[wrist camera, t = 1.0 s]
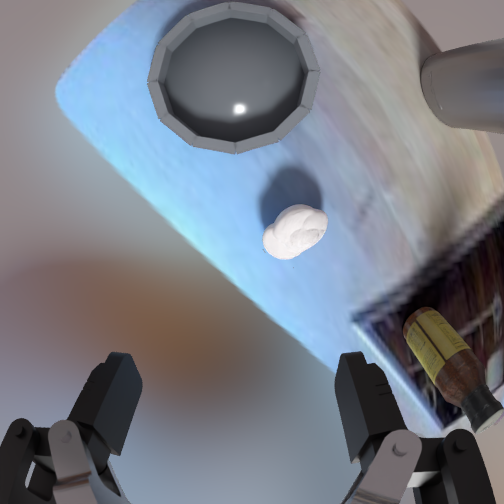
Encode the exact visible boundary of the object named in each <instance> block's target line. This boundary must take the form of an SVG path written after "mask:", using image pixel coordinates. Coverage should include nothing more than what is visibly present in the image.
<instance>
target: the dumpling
mask: <svg viewBox="0 0 504 504" xmlns="http://www.w3.org/2000/svg"><path fill="white" fill-rule="evenodd" d="M327 224H328V217H327V214H326V213H325V212H324V211H322V210H319V209H314V208H312V207H310V206H308V205H304V204H296V205H292V206H290V207H288V208H286V209H284V210H283V211H282V212H281V213H280V214H279V215H278V216H277V218H276V220H275V222H274V223H273V224H270V225H269V226H268V227H267V228H266V229H265V231H264V233H263V238H262V240H263V244H264V247H265V249H266V250H267V252H268V253H269V254H271V255H272V256H273V257H276V258H279V259H292V258H294V257H296V256H298V255H300V254H301V253H302V252H303V251H305V250H307V249H309V248H310V247H311V246H313V245H315V244H316V243H317V242H318V241H319V240H320V239H321V237H322V236H323V234H325V231H326V229H327ZM263 251H264V250H263ZM264 252H265V251H264ZM293 268H294V267H293Z"/></svg>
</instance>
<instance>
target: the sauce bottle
mask: <svg viewBox="0 0 504 504" xmlns="http://www.w3.org/2000/svg"><path fill="white" fill-rule="evenodd" d="M403 334H404V337H405V339H406V340H407V343H408V345H409V346H410V348H411V349H412V351H413V352H414V354H415V355H416V357H417V358H418V360H419V361H420V363H421V364H422V366H423V367H424V369H425V370H426V372H427V373H428V375H429V377H430V378H431V380H432V381H433V383H434V384H435V386H436V387H437V388H438V389H439V390H440V392H441V394H442V396H443V397H444V398H445V400H446V401H447V402H450V403H452V404H454V405H456V406H458V407H460V408H462V410H463V411H464V412H465V414H466V415H467V417H468V419H469V421H470V423H471V428H472V430H473V431H474V433H475V434H479V433H481V432H482V431H484V430H486V429H487V428H488V427H490V426H491V425H492V424H493V423H494V422H495V421H496V420H497V419H498V418H499V417H500V416H501V414H502V413H503V411H504V408H503V406H502V405H501V403H500V402H499V401H497V400H496V399H495V398H494V396H493V395H492V393H491V392H490V390H489V388H488V386H487V385H486V382H485V368H484V366H483V364H482V363H481V362H480V361H479V359H478V358H477V357H476V356H475V355H474V353H473V351H472V350H471V349H470V347H469V346H468V345H467V344H466V343H465V342H464V340H463V339H462V338H461V337H460V336H459V335H458V334H457V332H456V331H455V330H454V329H453V328H452V327H451V326H450V325H449V323H448V322H447V321H446V320H445V319H444V318H443V317H442V316H441V315H440V313H439V312H437V311H436V310H434V309H433V308H430V307H421V308H420V309H418V310H416V311H415V312H414V313H412V314H411V315H410V316H409V317H408V319H407V320H406V322H405V324H404V326H403Z"/></svg>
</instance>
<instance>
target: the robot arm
mask: <svg viewBox="0 0 504 504" xmlns="http://www.w3.org/2000/svg"><path fill="white" fill-rule="evenodd" d="M421 84H422V89H423V93H424V96H425V99H426V101H427V103H428V105H429V107H430V109H431V110H432V112H433V113H434V114H435V116H436V117H437V118H438V119H439V120H440V121H442V122H443V123H444V124H446V125H448V126H450V127H454V128H462V129H471V130H478V131H486V132H493V133H500V134H504V38H502V39H497V40H491V41H486V42H482V43H477V44H473V45H469V46H465V47H460V48H456V49H453V50H449V51H445V52H442V53H438V54H435V55H432V56H431V57H429V58H428V59H427V60H426V61H425V63H424V65H423V68H422V73H421ZM141 392H142V379H141V377H140V374H139V372H138V370H137V367H136V365H135V363H134V361H133V358H132V356H131V355H130V354H128V353H119V352H111V353H110V354H109V356H108V358H107V360H106V361H105V363H100V364H99V365H98V366H97V367H96V368H95V369H94V370H93V371H92V372H91V374H90V376H89V378H88V380H87V382H86V383H85V385H84V387H83V390H82V391H81V393H80V395H79V397H78V399H77V401H76V403H75V405H74V407H73V409H72V411H71V413H70V415H69V417H68V418H67V420H60V421H58V422H56V423H54V424H53V425H52V427H51V428H41V427H34V426H33V425H32V424H31V423H30V422H29V421H28V420H26V419H24V418H20V419H16V420H15V421H13V422H12V423H11V425H10V426H9V429H8V430H7V433H6V435H5V437H4V439H3V441H2V444H1V446H0V504H131V503H130V502H129V501H128V499H127V498H126V496H125V494H124V492H123V490H122V488H121V486H120V484H119V481H118V479H117V477H116V475H115V473H114V470H113V468H112V465H111V463H110V461H109V460H108V458H109V455H110V453H111V454H114V455H118V456H120V455H121V451H122V448H123V445H124V442H125V439H126V436H127V433H128V430H129V427H130V424H131V421H132V418H133V415H134V412H135V409H136V407H137V404H138V401H139V398H140V395H141ZM335 394H336V398H337V403H338V407H339V411H340V416H341V420H342V424H343V429H344V433H345V438H346V442H347V447H348V451H349V456H350V461H351V464H352V463H358V462H360V464H361V469H362V470H361V471H360V473H359V475H358V477H357V478H356V480H355V481H354V483H353V485H352V486H351V488H350V489H349V491H348V493H347V494H346V496H345V497H344V499H343V500H342V502H341V503H340V504H399V503H400V500H401V498H402V496H403V494H404V492H405V490H406V487H413V492H414V497H415V502H416V504H496V501H495V497H494V494H493V490H492V487H491V483H490V480H489V476H488V473H487V470H486V467H485V464H484V461H483V458H482V456H481V453H480V450H479V447H478V445H477V442H476V440H475V437H474V436H473V434H472V433H471V432H469V431H467V430H465V429H456V430H453V431H451V432H450V433H449V434H448V435H447V436H446V437H445V438H421V437H418V436H417V435H416V434H415V433H413V432H412V431H409V430H408V429H407V427H406V425H405V423H404V420H403V417H402V415H401V412H400V410H399V407H398V405H397V402H396V400H395V397H394V395H393V394H392V390H391V387H390V385H389V384H388V380H387V378H386V375H385V373H384V371H383V370H382V369H381V368H380V367H379V366H377V365H376V364H375V363H371V364H367V362H366V360H365V357H364V355H363V353H362V352H361V351H359V352H351V353H342V354H341V356H340V360H339V364H338V369H337V373H336V377H335ZM32 461H33V462H34V463H35V464H36V465H35V468H34V471H33V473H32V476H31V480H30V482H29V486H28V488H26V486H25V480H26V477H27V474H28V471H29V468H30V465H31V463H32Z"/></svg>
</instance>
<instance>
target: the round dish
mask: <svg viewBox="0 0 504 504" xmlns="http://www.w3.org/2000/svg"><path fill="white" fill-rule="evenodd" d="M271 9H272V8H270V7H265V6H259V5H254V4H247V3H240V2H232V1H230V4H229V2H224V3H221V4H217V5H214V6H211V7H207V8H204V9H201V10H198V11H195V12H192V13H189V14H188V15H189V16H187V15H186V16H185V17H184V18H183V19H182V20H180V21H179V22H178V23H177V24H176V25H175V26H174V27H173V28H172V29H171V30H170V31H169V32H168V33H167V34H166V35H165V36H164V37H163V38H162V39H161V40H160V41H159V42H158V44H159V45H157V46H156V49H155V53H154V56H153V60H152V63H151V67H150V71H149V75H148V79H147V82H149V83H147V85H148V88H149V91H150V95H151V98H152V101H153V104H154V107H155V110H156V113H157V116H158V119H161V120H160V121H161V122H162V123H163V124H164V125H166V126H167V127H168V128H169V129H171V130H172V131H173V132H174V133H176V134H177V135H178V136H179V137H180V138H182V139H183V140H184V141H185V142H186V143H188V144H189V145H190V146H192V145H193V147H197V148H203V149H209V150H214V151H220V152H225V153H230V154H235V153H237V154H239V153H243V152H246V151H249V150H252V149H256V148H259V147H263V146H266V145H269V144H273V143H277V142H279V141H278V140H280V141H281V140H282V139H283V138H284V137H285V136H286V135H287V134H288V133H289V132H290V131H291V130H292V129H293V128H294V127H295V126H296V125H297V124H298V123H299V122H300V121H301V120H302V119H303V118H304V117H305V116H306V115H307V114H308V113H309V112H310V111H309V110H312V105H313V101H314V97H315V93H316V89H317V85H318V80H319V76H320V72H319V71H320V68H319V65H318V62H317V60H316V57H315V54H314V52H313V49H312V46H311V44H310V41H309V39H308V36H307V35H305V32H304V31H303V30H301V29H300V28H299V27H298V26H296V25H295V24H294V23H292V22H291V21H290V20H289V19H287V18H286V17H285V16H283V15H282V14H280V13H279V12H278V11H276V10H275V9H273V10H271Z"/></svg>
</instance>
